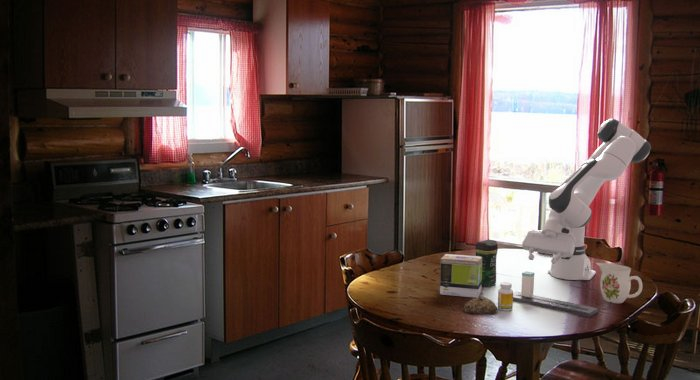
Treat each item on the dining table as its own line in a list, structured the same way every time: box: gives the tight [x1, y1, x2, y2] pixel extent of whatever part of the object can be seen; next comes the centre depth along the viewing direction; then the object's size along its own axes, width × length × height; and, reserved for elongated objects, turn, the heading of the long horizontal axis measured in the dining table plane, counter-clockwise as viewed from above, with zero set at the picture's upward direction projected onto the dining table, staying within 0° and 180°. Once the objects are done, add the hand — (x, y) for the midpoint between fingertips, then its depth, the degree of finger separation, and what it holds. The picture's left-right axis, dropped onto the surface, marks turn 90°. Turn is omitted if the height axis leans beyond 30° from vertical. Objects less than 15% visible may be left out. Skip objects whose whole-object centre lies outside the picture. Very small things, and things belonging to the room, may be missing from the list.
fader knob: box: [521, 270, 535, 297], centre depth 278 cm, size 3×4×9 cm
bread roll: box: [462, 296, 498, 315], centre depth 267 cm, size 13×12×5 cm
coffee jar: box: [474, 239, 499, 287], centre depth 301 cm, size 10×8×19 cm
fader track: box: [513, 291, 599, 318], centre depth 273 cm, size 8×32×2 cm, turn 50°
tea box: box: [439, 253, 483, 299], centre depth 287 cm, size 15×10×15 cm, turn 71°
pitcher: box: [595, 262, 644, 304], centre depth 279 cm, size 11×18×14 cm, turn 51°
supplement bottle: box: [497, 281, 514, 312], centre depth 267 cm, size 5×5×10 cm
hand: (541, 261), depth 284 cm, fingers open, 8 cm apart
